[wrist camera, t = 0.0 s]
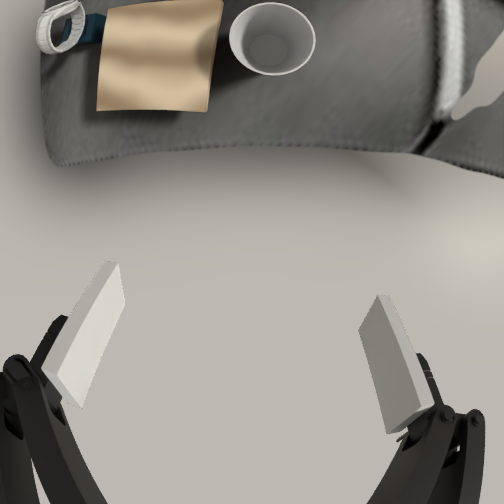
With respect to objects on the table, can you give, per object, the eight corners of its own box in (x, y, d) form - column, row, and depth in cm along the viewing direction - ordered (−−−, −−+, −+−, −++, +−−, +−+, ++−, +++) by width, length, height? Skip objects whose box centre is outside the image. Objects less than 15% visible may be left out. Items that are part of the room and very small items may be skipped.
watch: (109, 5, 23) (68, -10, 14) (99, 53, 27) (53, 50, 18) (79, 11, 23) (35, 1, 13) (70, 56, 27) (23, 57, 18)
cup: (293, 20, 26) (305, -2, 18) (305, 74, 30) (322, 70, 22) (230, 30, 27) (221, 10, 19) (243, 84, 31) (239, 82, 23)
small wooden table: (127, 16, 25) (108, 8, 20) (227, 13, 26) (222, 0, 21) (117, 106, 32) (96, 110, 27) (212, 108, 33) (204, 112, 28)
